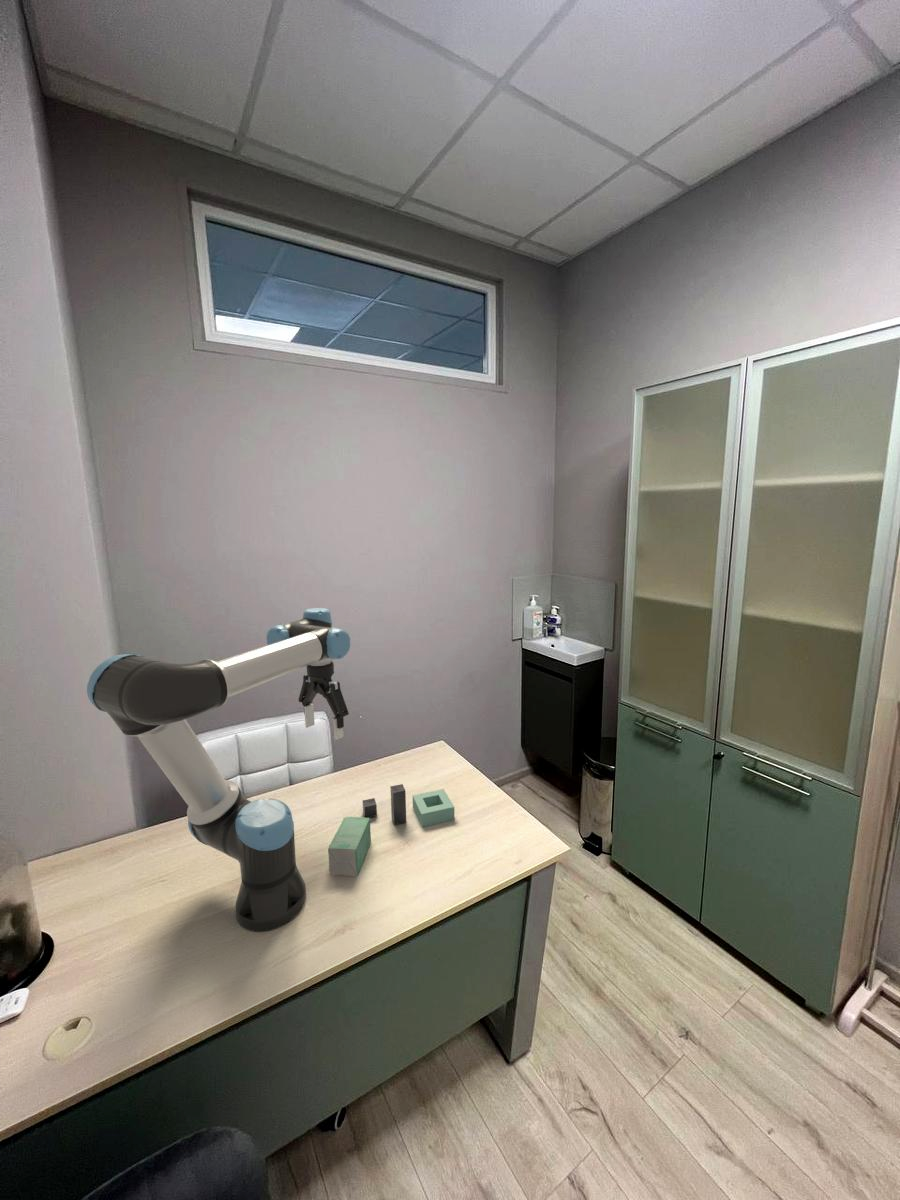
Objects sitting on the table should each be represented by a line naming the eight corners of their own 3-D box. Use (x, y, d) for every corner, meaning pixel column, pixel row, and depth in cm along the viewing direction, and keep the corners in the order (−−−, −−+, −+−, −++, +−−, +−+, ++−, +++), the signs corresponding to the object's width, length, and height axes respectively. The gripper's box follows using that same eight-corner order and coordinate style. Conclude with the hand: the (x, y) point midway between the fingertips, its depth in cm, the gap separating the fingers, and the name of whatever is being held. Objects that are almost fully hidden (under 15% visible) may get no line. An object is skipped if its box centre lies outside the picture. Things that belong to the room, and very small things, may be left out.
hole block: (454, 819, 139) (454, 806, 139) (421, 826, 136) (421, 814, 135) (443, 800, 149) (443, 788, 148) (412, 807, 145) (412, 795, 145)
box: (371, 840, 131) (370, 815, 129) (357, 877, 117) (356, 850, 116) (346, 839, 131) (344, 814, 130) (329, 875, 118) (327, 848, 117)
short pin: (377, 816, 141) (376, 804, 140) (364, 819, 140) (364, 807, 139) (374, 809, 144) (374, 798, 144) (363, 812, 143) (362, 800, 143)
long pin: (406, 823, 138) (405, 790, 136) (394, 825, 137) (393, 793, 135) (403, 815, 141) (402, 784, 139) (391, 818, 140) (390, 786, 138)
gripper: (359, 666, 131) (362, 738, 135) (305, 652, 146) (309, 717, 150) (337, 673, 125) (341, 748, 129) (283, 657, 141) (288, 725, 144)
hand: (324, 731), depth 139 cm, fingers open, 13 cm apart
